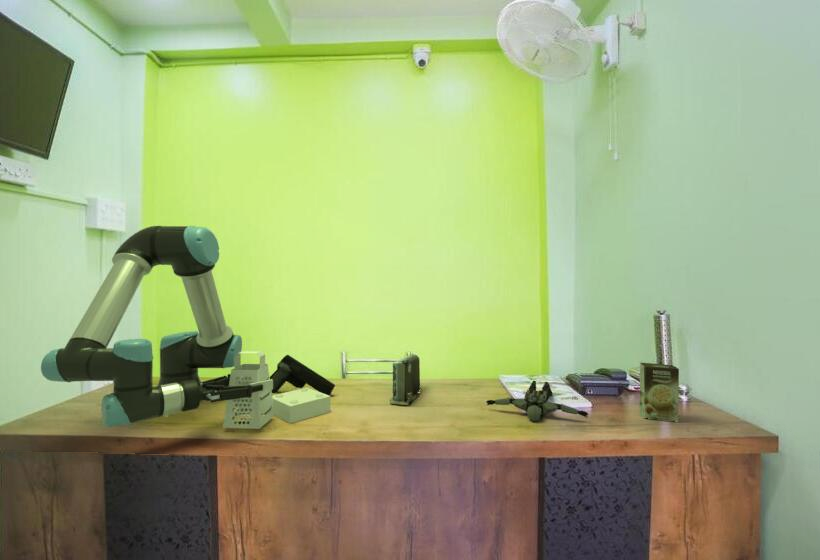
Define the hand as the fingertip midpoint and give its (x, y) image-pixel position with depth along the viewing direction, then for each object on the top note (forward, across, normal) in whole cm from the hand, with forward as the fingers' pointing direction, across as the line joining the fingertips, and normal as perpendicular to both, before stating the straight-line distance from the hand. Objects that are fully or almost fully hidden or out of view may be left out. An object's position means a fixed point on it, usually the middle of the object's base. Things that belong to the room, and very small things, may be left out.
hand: (263, 380), depth 114 cm
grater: (-4, 0, -11) cm, 12 cm away
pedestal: (+12, 0, -12) cm, 17 cm away
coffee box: (+86, +84, -12) cm, 121 cm away
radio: (+48, +13, -13) cm, 51 cm away
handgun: (+22, -18, -13) cm, 31 cm away
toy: (+69, +53, -13) cm, 88 cm away
